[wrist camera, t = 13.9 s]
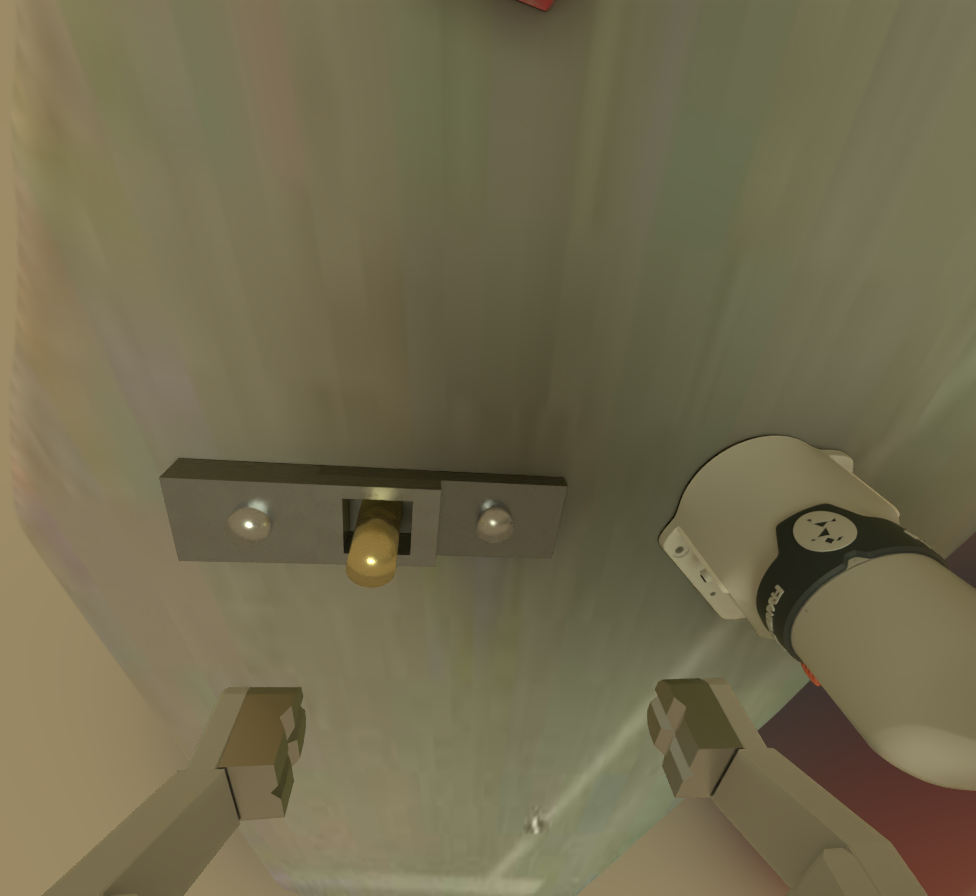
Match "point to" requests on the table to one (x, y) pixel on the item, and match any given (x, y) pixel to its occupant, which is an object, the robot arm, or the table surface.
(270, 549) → the latch strike plate
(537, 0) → the ink box
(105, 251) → the table surface
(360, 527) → the brass pin
